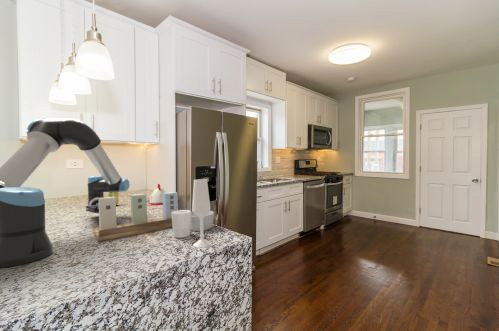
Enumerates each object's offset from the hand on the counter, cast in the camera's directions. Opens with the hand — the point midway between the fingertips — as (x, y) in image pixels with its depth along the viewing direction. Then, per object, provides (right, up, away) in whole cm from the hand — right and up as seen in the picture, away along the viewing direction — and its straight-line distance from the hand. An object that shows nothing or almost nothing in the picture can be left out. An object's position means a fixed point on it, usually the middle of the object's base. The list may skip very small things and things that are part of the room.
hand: (105, 211), depth 112 cm
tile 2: (+15, -6, +2) cm, 16 cm away
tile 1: (+5, -7, -6) cm, 10 cm away
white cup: (+39, -8, -12) cm, 42 cm away
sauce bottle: (-32, -8, +63) cm, 71 cm away
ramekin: (+45, -8, -1) cm, 45 cm away
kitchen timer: (-1, -8, +69) cm, 69 cm away
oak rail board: (+16, -8, 0) cm, 18 cm away
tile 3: (+29, -6, +6) cm, 30 cm away
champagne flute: (+50, -8, -23) cm, 56 cm away
